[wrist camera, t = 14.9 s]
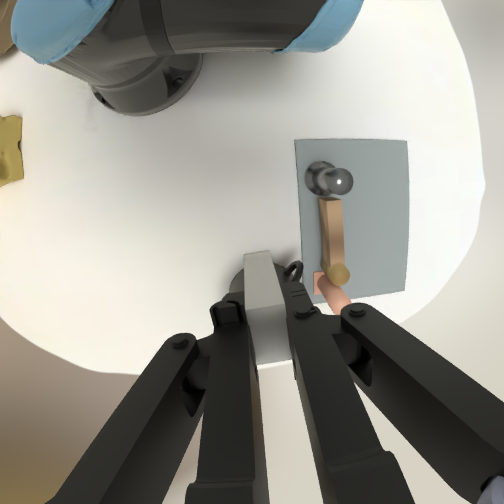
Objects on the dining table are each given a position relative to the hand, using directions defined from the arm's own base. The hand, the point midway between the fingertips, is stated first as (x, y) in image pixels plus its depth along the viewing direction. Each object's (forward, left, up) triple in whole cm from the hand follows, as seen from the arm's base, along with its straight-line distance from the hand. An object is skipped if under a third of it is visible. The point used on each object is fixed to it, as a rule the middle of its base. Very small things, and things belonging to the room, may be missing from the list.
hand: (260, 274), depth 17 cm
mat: (+2, +14, -21) cm, 25 cm away
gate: (+3, +10, -19) cm, 22 cm away
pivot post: (-4, +9, -21) cm, 23 cm away
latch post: (+10, +9, -21) cm, 25 cm away
